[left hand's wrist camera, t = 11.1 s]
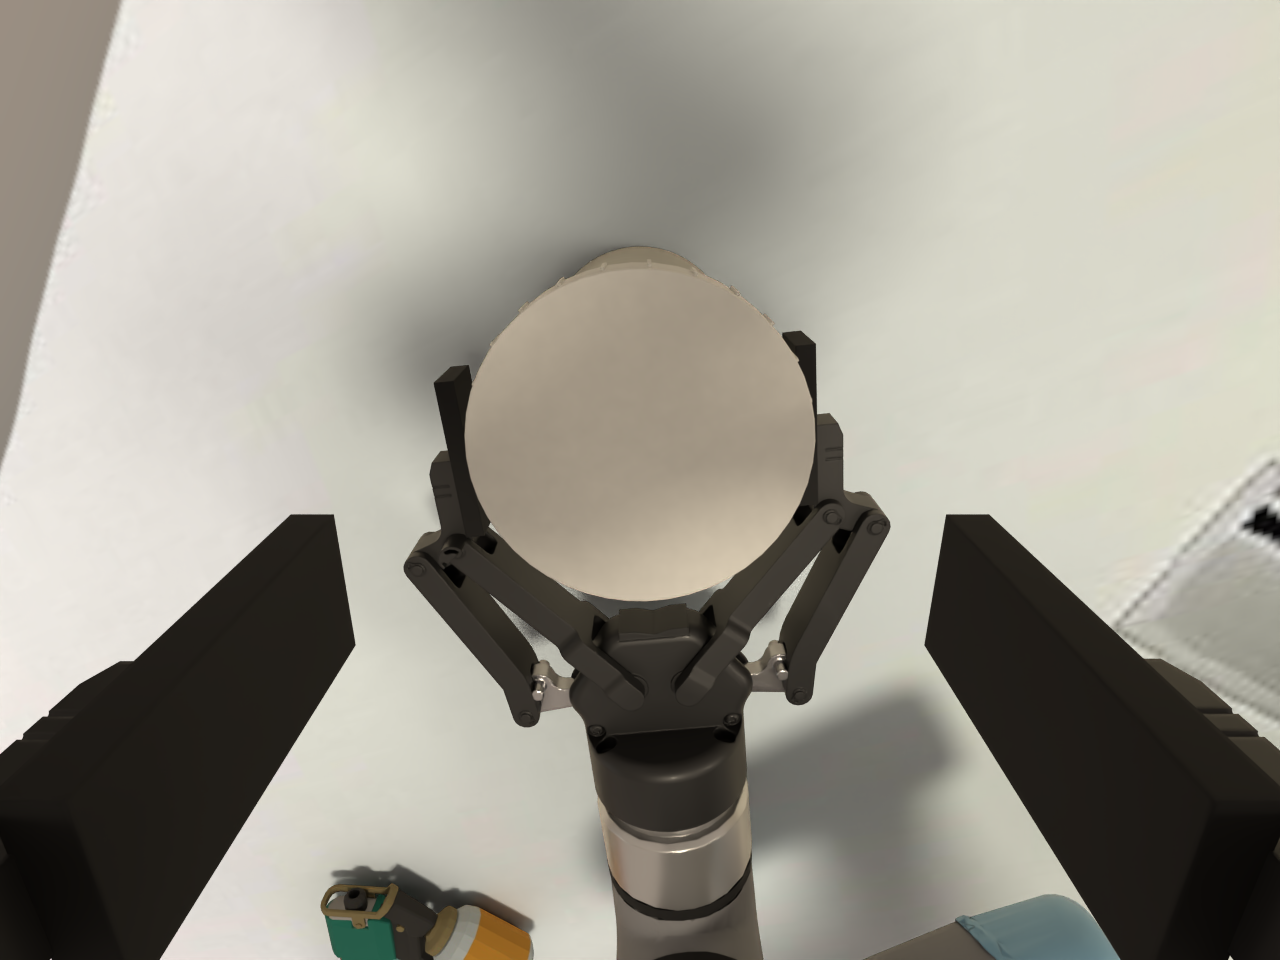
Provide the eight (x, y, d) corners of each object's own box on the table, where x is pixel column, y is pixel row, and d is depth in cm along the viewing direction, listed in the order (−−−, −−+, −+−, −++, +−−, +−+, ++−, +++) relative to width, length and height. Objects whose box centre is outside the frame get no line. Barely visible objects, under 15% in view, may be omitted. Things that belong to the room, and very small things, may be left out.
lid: (406, 410, 22) (386, 429, 20) (661, 179, 19) (663, 178, 18) (622, 626, 24) (621, 659, 23) (868, 446, 22) (887, 468, 20)
